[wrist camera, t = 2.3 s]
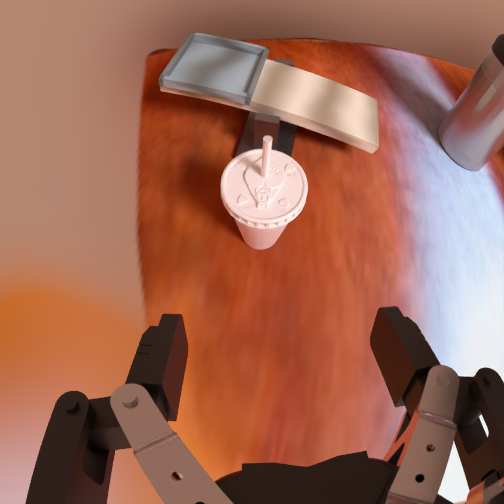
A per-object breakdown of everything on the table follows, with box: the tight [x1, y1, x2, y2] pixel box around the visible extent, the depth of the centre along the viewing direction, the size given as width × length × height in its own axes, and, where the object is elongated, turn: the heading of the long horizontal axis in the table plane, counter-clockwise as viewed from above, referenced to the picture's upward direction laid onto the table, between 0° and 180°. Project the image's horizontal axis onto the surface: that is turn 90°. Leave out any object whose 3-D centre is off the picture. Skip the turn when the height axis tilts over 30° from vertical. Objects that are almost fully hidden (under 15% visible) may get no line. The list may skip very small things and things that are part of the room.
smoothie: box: [221, 135, 308, 249], centre depth 24 cm, size 6×6×14 cm
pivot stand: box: [235, 58, 297, 157], centre depth 32 cm, size 6×14×6 cm, turn 167°
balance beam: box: [159, 32, 379, 154], centre depth 29 cm, size 24×10×3 cm, turn 77°
